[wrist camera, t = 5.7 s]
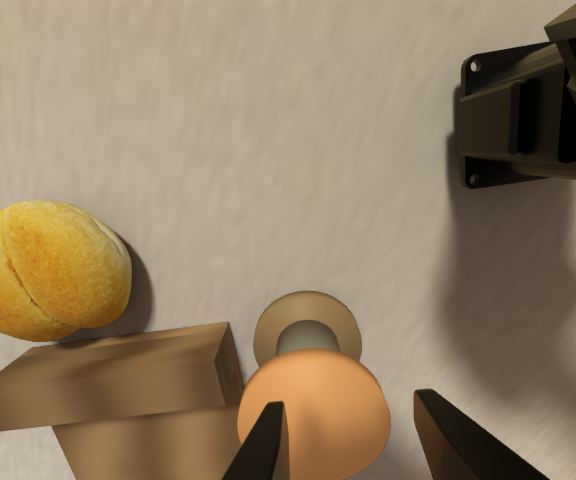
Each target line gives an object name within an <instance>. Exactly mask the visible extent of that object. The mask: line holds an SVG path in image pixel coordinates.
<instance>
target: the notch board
mask: <svg viewBox="0 0 576 480" xmlns="http://www.w3.org/2000/svg"><path fill="white" fill-rule="evenodd" d="M243 391H244V385H243V381H242V377H241V372H240V368H239V364H238V360H237V355H236V351H235V347H234V343H233V338H232V334H231V330H230V325H229V322H222V323H215V324H207V325H200V326H192V327H184V328H177V329H169V330H162V331H154V332H146V333H139V334H131V335H124V336H116V337H108V338H101V339H93V340H86V341H78V342H70V343H63V344H55V345H48V346H40V347H32V348H30V349H29V350H28V351H26V352H25V353H24V354H22V355H21V356H20V357H18V358H17V359H16V360H14V361H13V362H12V363H10V364H9V365H8V366H6V367H5V368H4V369H2V370H1V371H0V431H8V430H17V429H25V428H34V427H43V426H52V428H53V431H54V433H55V435H56V437H57V439H58V441H59V444H60V446H61V448H62V450H63V452H64V454H65V457H66V459H67V461H68V463H69V465H70V467H71V470H72V472H73V474H74V476H75V478H76V480H221V479H222V477H223V475H224V474H225V472H226V470H227V469H228V467H229V466H230V464H231V462H232V461H233V459H234V457H235V456H236V454H237V452H238V451H239V449H240V447H241V446H242V444H241V441H240V438H239V434H238V428H237V420H238V413H239V408H240V404H241V399H242V394H243Z"/></svg>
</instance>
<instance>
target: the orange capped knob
mask: <svg viewBox="0 0 576 480" xmlns="http://www.w3.org/2000/svg"><path fill="white" fill-rule="evenodd" d="M253 348H254V355H255V358H256V361H257V363H258V365H259V368H258V370H257V371H256V372H255V373H254V374H253V375H252V376H251V378H250V379H249V380H248V382H247V384H246V386H245V388H244V391H243V394H242V399H241V404H240V408H239V413H238V420H237V428H238V434H239V438H240V441H241V444H243V442H244V441H245V439H246V437H247V436H248V434H249V432H250V431H251V429H252V427H253V426H254V424H255V422H256V421H257V419H258V417H259V416H260V414H261V412H262V411H263V409H264V407H265V406H266V404H267V403H268V402H273V401H283V402H284V404H285V410H286V416H287V423H288V431H289V465H290V480H343V479H346V478H348V477H351V476H353V475H355V474H357V473H359V472H360V471H362V470H363V469H365V468H366V467H368V466H369V465H370V464H371V463H372V462H373V461H374V460H375V459H376V458H377V457H378V456H379V455H380V453H381V452H382V450H383V449H384V447H385V445H386V443H387V440H388V437H389V434H390V428H391V418H390V412H389V409H388V406H387V403H386V400H385V398H384V395H383V392H382V390H381V387H380V385H379V383H378V381H377V379H376V378H375V377H374V375H373V374H372V373H371V372H370V371H369V370H368V369H367V368H366V367H365V366H364V365H363V364H361V363H360V362H359V358H360V355H361V349H362V340H361V334H360V331H359V328H358V326H357V323H356V320H355V318H354V316H353V314H352V313H351V312H350V310H349V309H348V308H347V307H346V306H345V305H344V304H343V303H342V302H340V301H339V300H337V299H336V298H334V297H332V296H330V295H328V294H324V293H321V292H315V291H299V292H294V293H290V294H287V295H285V296H283V297H280V298H279V299H277V300H275V301H274V302H273V303H271V304H270V305H269V306H268V307H267V308H266V309H265V310H264V312H263V313H262V315H261V317H260V319H259V321H258V323H257V326H256V331H255V336H254V344H253Z"/></svg>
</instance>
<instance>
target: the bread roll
mask: <svg viewBox="0 0 576 480" xmlns="http://www.w3.org/2000/svg"><path fill="white" fill-rule="evenodd" d="M131 278H132V265H131V258H130V256H129V253H128V251H127V249H126V247H125V245H124V244H123V243H122V241H121V240H120V239H119V238H118V236H117V235H116V234H115V233H114V232H113V231H112V230H111V229H110V228H109V227H108V226H107V225H106V224H105V223H103V222H102V221H101V220H99V219H97V218H96V217H94V216H93V215H92V214H90V213H88V212H86V211H84V210H82V209H80V208H78V207H76V206H74V205H71V204H67V203H63V202H58V201H43V200H36V201H35V200H33V201H23V202H19V203H16V204H13V205H10V206H8V207H7V208H5V209H3V210H1V211H0V333H3V334H6V335H9V336H12V337H15V338H18V339H23V340H27V341H32V342H48V341H54V340H57V339H60V338H63V337H66V336H68V335H70V334H72V333H75V332H76V331H78V330H79V329H81V328H98V327H102V326H105V325H107V324H110V323H112V322H114V321H115V320H116V319H117V318H118V317H119V316H121V314H122V313H123V312H124V310H125V308H126V306H127V304H128V301H129V296H130V291H131Z"/></svg>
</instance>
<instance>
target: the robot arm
mask: <svg viewBox="0 0 576 480" xmlns="http://www.w3.org/2000/svg"><path fill="white" fill-rule="evenodd" d="M544 29H545V31H546V34H547V36H548V38H549V40H550V42H544V43H538V44H532V45H527V46H521V47H515V48H509V49H504V50H498V51H492V52H486V53H480V54H476V55H473V56H471V57H469V58H467V59H466V60H465V61H464V62H463V64H462V68H461V100H460V101H459V103H458V152H459V153H460V154H461V183H462V185H463V186H464V187H466V188H470V189H477V188H484V187H490V186H497V185H504V184H510V183H517V182H524V181H531V180H537V179H544V178H551V177H553V178H564V179H574V180H576V4H574V5H573V6H572V7H570V8H569V9H568V10H566V11H565V12H563V13H562V14H561V15H559V16H558V17H557V18H555V19H554V20H552V21H551V22H550V23H548V24H547V25H546V26H544ZM472 62H474V63H475V64H476V66H477V68H476V71H472V70H471V63H472ZM473 175H474V176H475V181H474V182H473V183H470V178H471V176H473ZM414 422H415V426H416V429H417V432H418V435H419V438H420V441H421V444H422V447H423V450H424V453H425V456H426V459H427V462H428V465H429V468H430V471H431V474H432V477H433V480H550V479H549V478H547V477H546V476H545V475H544V474H542V473H541V472H540V471H538V470H537V469H536V468H534V467H533V466H532V465H531V464H529V463H528V462H527V461H525V460H524V459H523V458H521V457H520V456H519V455H518V454H516V453H515V452H514V451H512V450H511V449H510V448H508V447H507V446H506V445H505V444H503V443H502V442H501V441H499V440H498V439H497V438H495V437H494V436H493V435H492V434H490V433H489V432H488V431H486V430H485V429H484V428H482V427H481V426H480V425H479V424H477V423H476V422H475V421H473V420H472V419H471V418H469V417H468V416H467V415H466V414H464V413H463V412H462V411H460V410H459V409H458V408H456V407H455V406H454V405H453V404H451V403H450V402H449V401H447V400H446V399H445V398H443V397H442V396H441V395H440V394H438V393H437V392H436V391H434V390H432V389H418V390H415V391H414ZM221 480H290V465H289V431H288V423H287V416H286V410H285V404H284V402H283V401H273V402H268V403H267V404H266V406H265V407H264V409H263V411H262V412H261V414H260V416H259V417H258V419H257V421H256V422H255V424H254V426H253V427H252V429H251V431H250V432H249V434H248V436H247V437H246V439H245V441H244V442H243V444H242V446H241V447H240V449H239V451H238V452H237V454H236V456H235V457H234V459H233V461H232V462H231V464H230V466H229V467H228V469H227V470H226V472H225V474H224V475H223V477H222V479H221Z"/></svg>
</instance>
